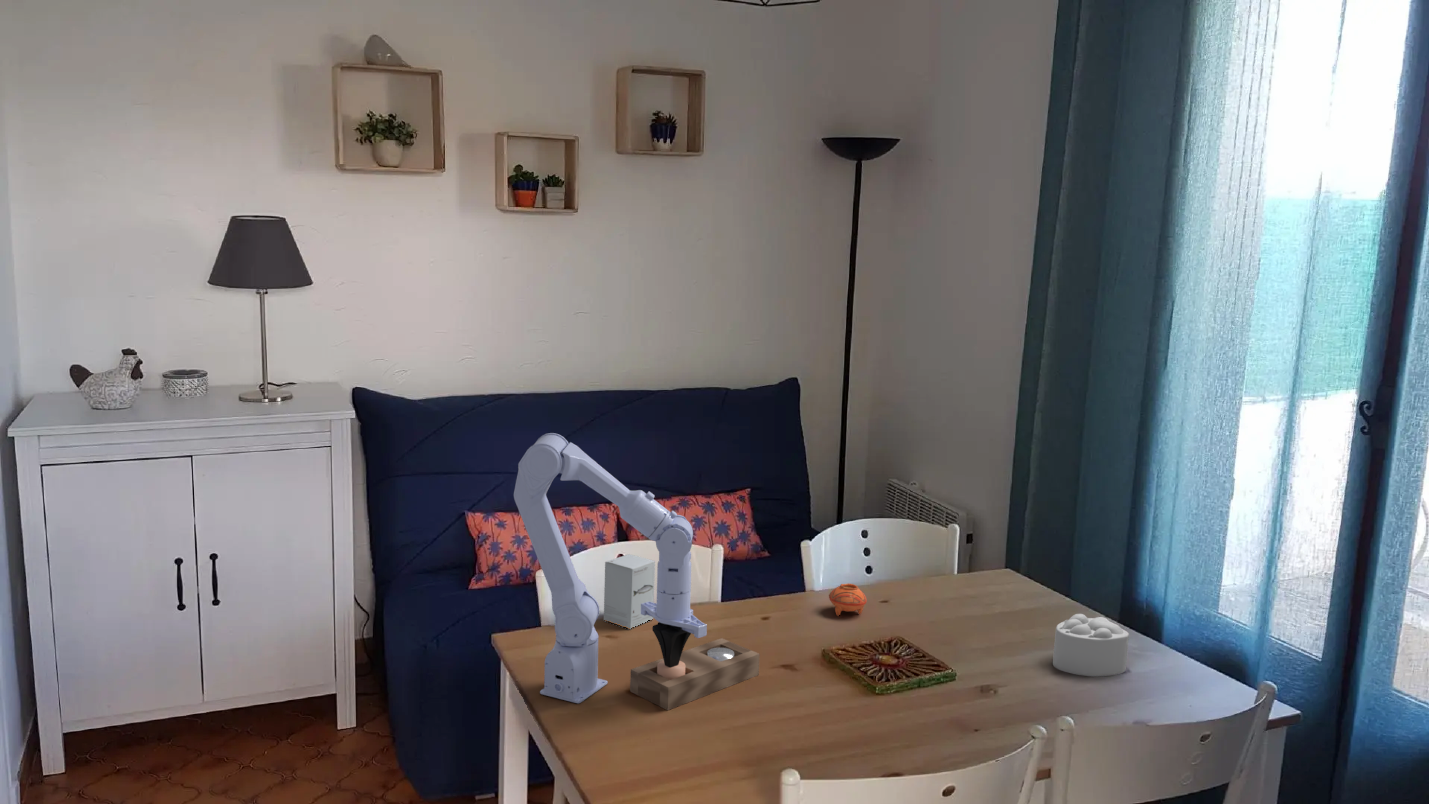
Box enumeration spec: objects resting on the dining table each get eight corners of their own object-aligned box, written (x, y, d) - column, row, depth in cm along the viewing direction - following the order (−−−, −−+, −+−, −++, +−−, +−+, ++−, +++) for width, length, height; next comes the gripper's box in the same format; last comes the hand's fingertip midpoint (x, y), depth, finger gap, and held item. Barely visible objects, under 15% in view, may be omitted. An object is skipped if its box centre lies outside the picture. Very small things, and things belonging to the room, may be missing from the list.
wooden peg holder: (667, 710, 181) (668, 687, 181) (630, 691, 188) (630, 669, 187) (758, 674, 197) (759, 653, 196) (720, 658, 203) (721, 638, 203)
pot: (819, 607, 232) (827, 576, 231) (851, 612, 234) (859, 582, 234) (834, 619, 224) (843, 587, 224) (867, 625, 227) (876, 593, 226)
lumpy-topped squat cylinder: (1132, 673, 203) (1137, 628, 202) (1072, 679, 200) (1076, 634, 198) (1098, 651, 213) (1102, 609, 212) (1040, 657, 210) (1043, 613, 208)
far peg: (720, 681, 193) (720, 660, 193) (701, 672, 197) (701, 652, 196) (739, 674, 197) (739, 653, 196) (720, 665, 200) (720, 645, 199)
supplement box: (630, 630, 216) (631, 569, 214) (602, 621, 220) (603, 560, 218) (654, 620, 221) (656, 560, 219) (627, 611, 226) (628, 552, 224)
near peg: (669, 695, 185) (670, 673, 184) (650, 685, 188) (651, 664, 187) (690, 687, 188) (691, 665, 187) (671, 678, 191) (672, 657, 191)
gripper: (720, 595, 183) (718, 672, 185) (662, 573, 193) (660, 646, 195) (690, 604, 178) (687, 683, 180) (632, 581, 188) (630, 656, 190)
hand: (671, 665), depth 187 cm, fingers closed, pressing on near peg
